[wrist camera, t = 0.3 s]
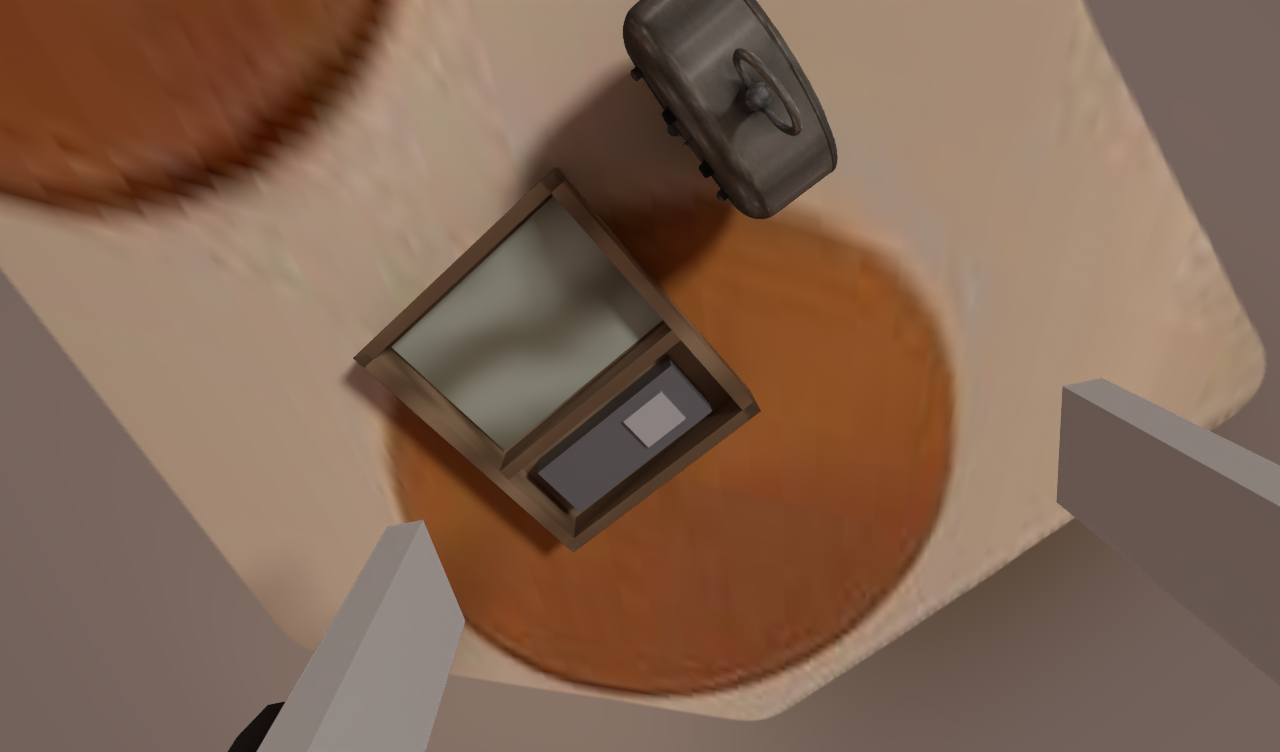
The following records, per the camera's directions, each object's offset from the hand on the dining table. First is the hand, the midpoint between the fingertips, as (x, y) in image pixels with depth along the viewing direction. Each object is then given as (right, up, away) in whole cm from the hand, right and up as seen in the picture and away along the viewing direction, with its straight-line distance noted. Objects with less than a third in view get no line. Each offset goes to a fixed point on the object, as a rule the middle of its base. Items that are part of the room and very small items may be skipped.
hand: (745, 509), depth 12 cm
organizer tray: (-7, +3, +26) cm, 27 cm away
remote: (-3, -1, +27) cm, 27 cm away
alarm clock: (+1, +18, +21) cm, 28 cm away
